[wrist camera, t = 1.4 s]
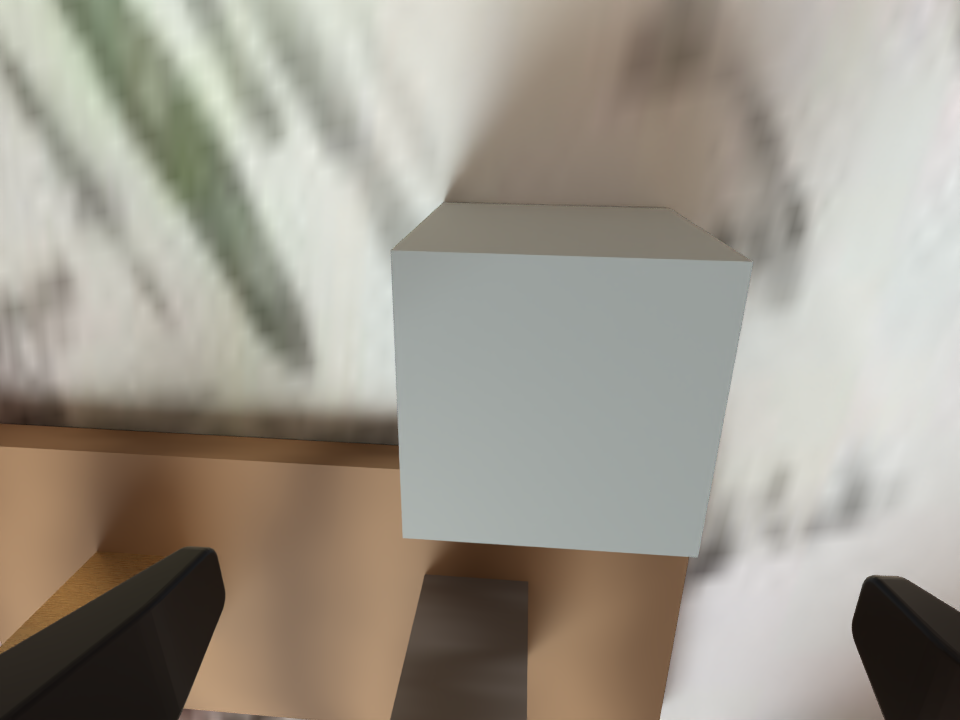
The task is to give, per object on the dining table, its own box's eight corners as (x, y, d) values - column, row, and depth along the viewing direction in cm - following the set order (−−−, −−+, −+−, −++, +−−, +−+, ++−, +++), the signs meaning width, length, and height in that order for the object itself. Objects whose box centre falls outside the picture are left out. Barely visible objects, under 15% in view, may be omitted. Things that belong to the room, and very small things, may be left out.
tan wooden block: (192, 557, 21) (72, 711, 16) (208, 633, 23) (103, 799, 17) (96, 551, 22) (-54, 699, 16) (117, 627, 23) (-14, 788, 17)
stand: (689, 461, 20) (773, 642, 13) (647, 714, 24) (692, 949, 18) (-37, 421, 22) (-303, 561, 15) (47, 663, 26) (-127, 858, 19)
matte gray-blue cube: (669, 208, 17) (753, 262, 11) (642, 411, 19) (698, 557, 13) (443, 202, 17) (390, 249, 11) (444, 402, 20) (402, 538, 13)
